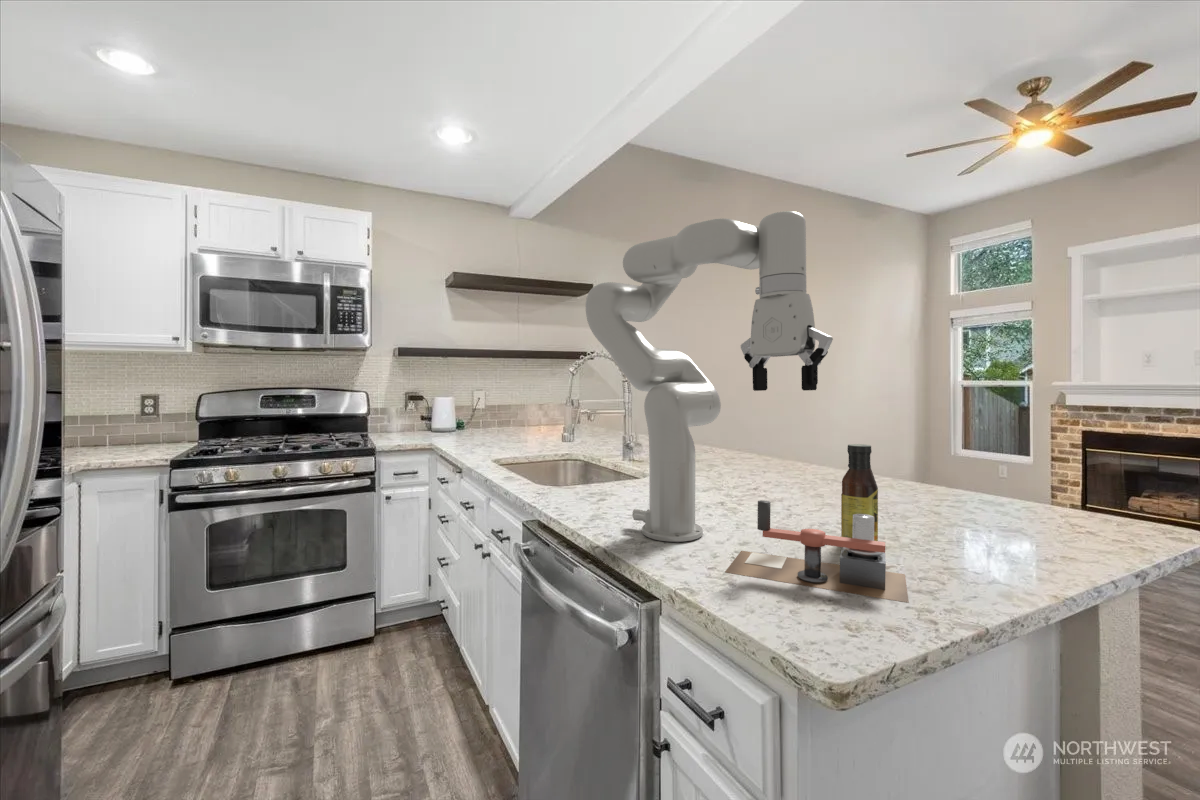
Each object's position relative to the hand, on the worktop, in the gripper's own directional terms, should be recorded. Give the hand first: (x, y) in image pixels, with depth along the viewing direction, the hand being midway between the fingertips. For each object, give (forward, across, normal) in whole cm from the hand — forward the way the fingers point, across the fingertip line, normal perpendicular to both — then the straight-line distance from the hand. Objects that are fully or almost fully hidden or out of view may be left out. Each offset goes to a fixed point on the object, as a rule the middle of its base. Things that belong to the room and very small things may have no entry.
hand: (783, 390), depth 90 cm
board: (+31, +6, -1) cm, 31 cm away
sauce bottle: (+31, +2, +20) cm, 36 cm away
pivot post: (+31, +7, -3) cm, 31 cm away
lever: (+24, +8, -2) cm, 25 cm away
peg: (+30, +12, +3) cm, 32 cm away
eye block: (+31, +12, +3) cm, 33 cm away
